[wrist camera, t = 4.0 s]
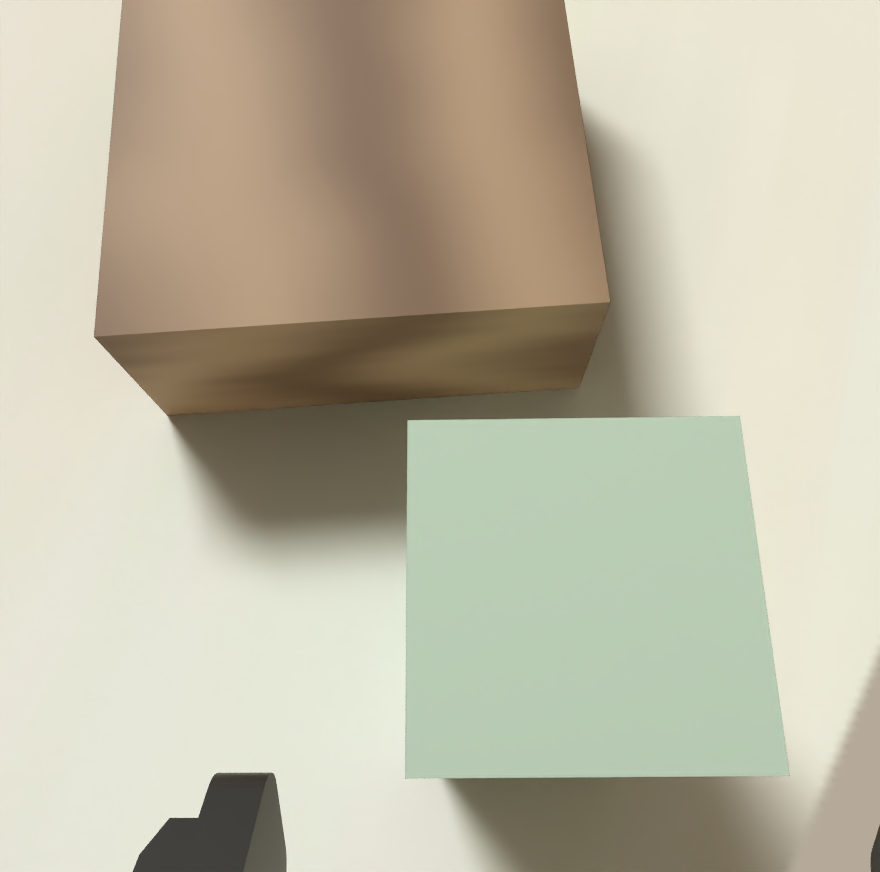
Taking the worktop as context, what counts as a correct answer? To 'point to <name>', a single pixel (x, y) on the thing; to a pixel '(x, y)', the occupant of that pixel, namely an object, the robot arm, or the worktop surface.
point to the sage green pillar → (586, 602)
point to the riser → (347, 203)
